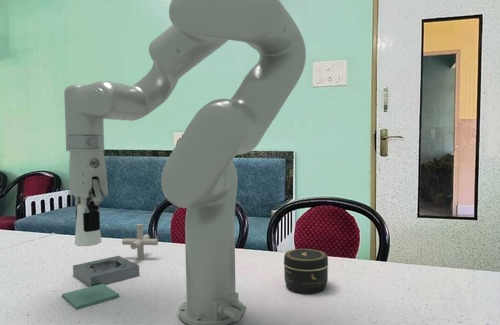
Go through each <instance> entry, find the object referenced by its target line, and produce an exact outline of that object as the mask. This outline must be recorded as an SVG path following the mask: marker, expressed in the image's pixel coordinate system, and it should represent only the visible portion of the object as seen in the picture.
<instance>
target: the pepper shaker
mask: <svg viewBox="0 0 500 325" xmlns="http://www.w3.org/2000/svg"><path fill="white" fill-rule="evenodd" d="M89 197H93V195H89V196H88V198H89ZM80 200H81V202H80V203H81V204H79V205H78V208H77V220H76V219H75V236H74V245H76V247H91V246H92V247H93V246H97V245H99V244H100V243H102V233H101V228H100V229H99V230H96V231H90V232H85V231H84V222H83V213H85V206H84V198H80ZM90 201H93V200H89V204H90Z"/></svg>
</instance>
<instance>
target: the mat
mask: <svg viewBox="0 0 500 325" xmlns="http://www.w3.org/2000/svg"><path fill="white" fill-rule="evenodd" d="M61 298H63V299H64V300H65V301H66V302H68V304H70V305H71V306H72V307H73V308H74V309H76V310H79V309H83V308H87V307H89V306H92V305H96V304H101V303H103V302H107V301H110V300H114V299H116V298H120V293H118V292H116V291H115V290H114V289H112V288H111V287H109V286H108V285H107V284H106V285H104V284H99V285H95V286H91V287H89V286H86V287H84V288H80V289H77V290H73V291H68V292H64V293H61Z"/></svg>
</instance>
